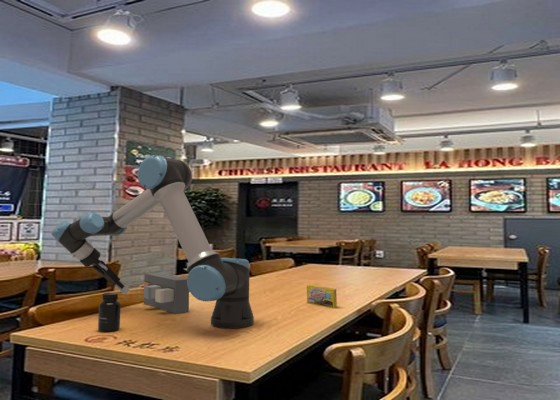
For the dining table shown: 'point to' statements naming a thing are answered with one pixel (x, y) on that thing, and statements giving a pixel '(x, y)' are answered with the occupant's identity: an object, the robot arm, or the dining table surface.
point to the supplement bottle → (109, 313)
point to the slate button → (151, 291)
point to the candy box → (321, 296)
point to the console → (180, 292)
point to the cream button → (164, 295)
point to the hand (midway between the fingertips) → (127, 292)
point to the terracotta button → (146, 283)
